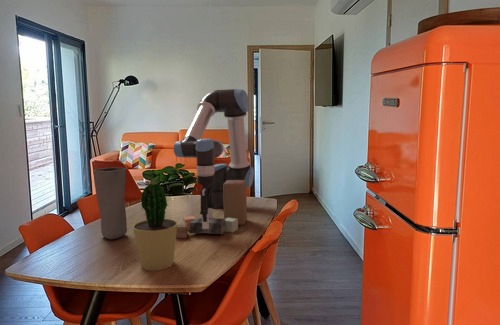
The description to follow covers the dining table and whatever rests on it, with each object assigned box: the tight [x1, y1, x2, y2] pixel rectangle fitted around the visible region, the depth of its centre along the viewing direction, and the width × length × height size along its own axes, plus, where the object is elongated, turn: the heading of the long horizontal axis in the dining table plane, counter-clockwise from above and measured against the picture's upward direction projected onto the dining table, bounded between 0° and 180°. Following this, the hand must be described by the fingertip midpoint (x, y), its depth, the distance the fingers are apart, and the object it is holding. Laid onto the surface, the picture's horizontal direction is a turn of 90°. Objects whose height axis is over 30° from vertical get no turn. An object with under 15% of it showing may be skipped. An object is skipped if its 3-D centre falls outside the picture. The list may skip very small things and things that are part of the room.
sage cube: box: [224, 218, 239, 233], centre depth 188 cm, size 5×5×5 cm
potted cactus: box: [132, 183, 178, 271], centre depth 147 cm, size 15×15×30 cm
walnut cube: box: [176, 223, 188, 239], centre depth 180 cm, size 5×5×5 cm
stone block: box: [189, 217, 226, 235], centre depth 184 cm, size 9×14×5 cm, turn 79°
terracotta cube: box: [182, 215, 196, 231], centre depth 192 cm, size 5×5×5 cm
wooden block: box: [223, 180, 248, 226], centre depth 199 cm, size 10×10×20 cm
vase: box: [93, 167, 128, 240], centre depth 178 cm, size 12×12×30 cm
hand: (207, 225), depth 183 cm, fingers closed on stone block, 8 cm apart
